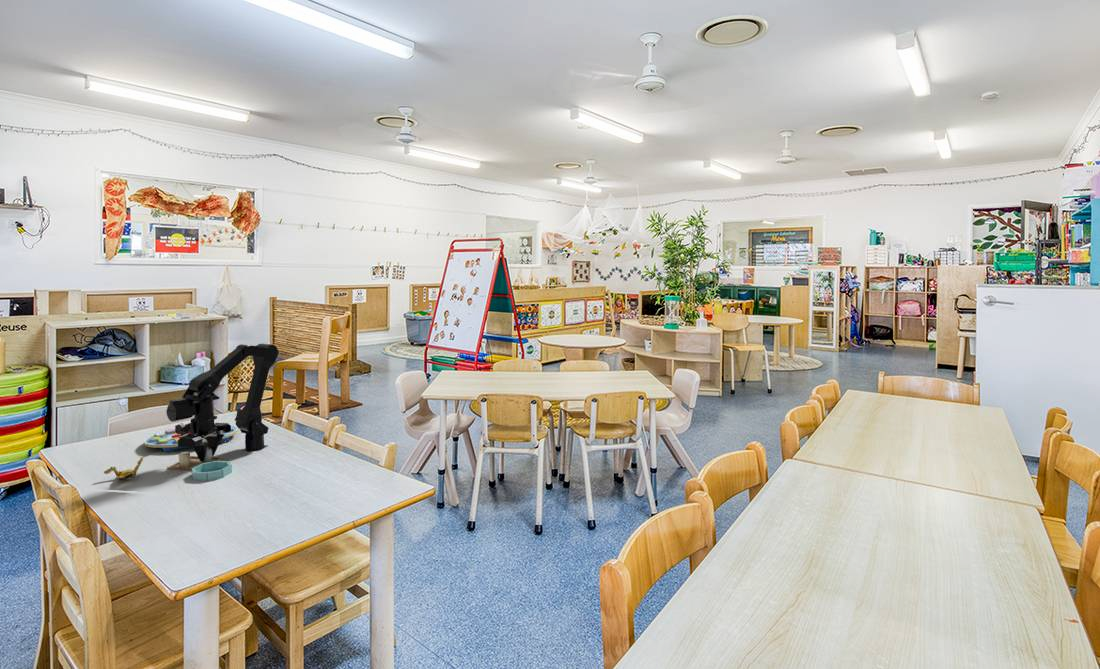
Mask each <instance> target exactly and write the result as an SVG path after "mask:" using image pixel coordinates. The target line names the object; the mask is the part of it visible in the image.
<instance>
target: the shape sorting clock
mask: <svg viewBox="0 0 1100 669" xmlns="http://www.w3.org/2000/svg"><path fill="white" fill-rule="evenodd" d="M229 425H230V426H231V431H229V432H227V433H224V432H223V431H220V432H221V434H224V436H223V438H222V440H221V442H224V443H226V442H225V441H229V442H230V437H231V436H234V435H236V434H238V432H239V428H238V427H237V426H236V424H229ZM186 435H196V434H190V433H187V434H184V435H183V436H181V435H180V434H176V432H175V428H168V429H165V431H163V432H156V433H154V434H153V435H151V436H149V437H146V438H145V439H144V440H143V445H144V446H145V447H149V448H155V449H156V448H159V449H160V448H161V449H163V452H164V453H165V452H170V451H175V450H181V449H189V447H178V442H177V441H178V440H179V438H181V437H184V436H186ZM202 436H203V435H202ZM204 442H207V440H206V439H205V438H204Z"/></svg>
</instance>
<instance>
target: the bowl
mask: <svg viewBox="0 0 1100 669" xmlns="http://www.w3.org/2000/svg"><path fill="white" fill-rule="evenodd" d="M232 473H233V466H232V463H231V462H230V461H227V460H226V461H225V460H222V461H213V462H208V463H202V464H200V465H198V466H196V467H194V468H192V471H191V477H192V479H193V480H194V481H203V482H209V481H213V480H218V479H223V478H225V477H227V476H229V475H230V474H232Z"/></svg>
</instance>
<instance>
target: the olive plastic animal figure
mask: <svg viewBox="0 0 1100 669" xmlns="http://www.w3.org/2000/svg"><path fill="white" fill-rule="evenodd" d="M143 461H144V456H141V457H140V459H138V461H137V462H136V465H135V466H134V469H131V468H129V469H126V470H122V471H121V470H119V471H118V470H117V467H116V466H110V467H109V468H107V469H106V470H105V471H103V474H105V475H107V474H110V473H111V472H114V473H115V475H116V478H117V480H118V481H121V480H123V479H125V477H127V476H129V475H131V476H132V478H133V479H134V478H136V475H137V472H138V470H139V468H140V466H141V464H142V462H143Z"/></svg>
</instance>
